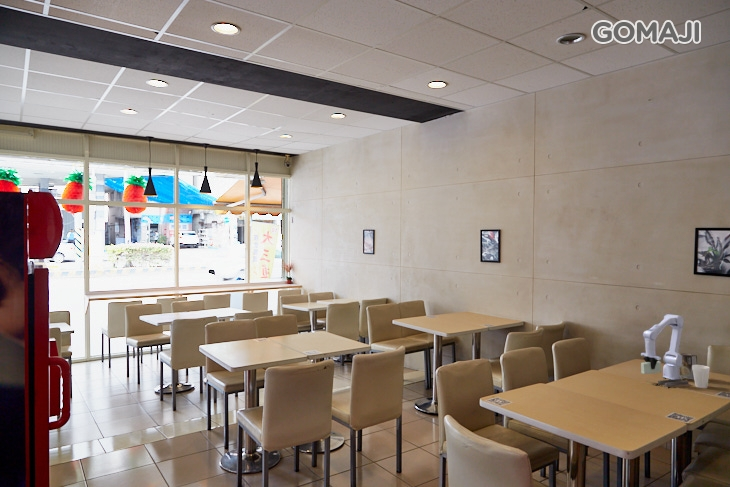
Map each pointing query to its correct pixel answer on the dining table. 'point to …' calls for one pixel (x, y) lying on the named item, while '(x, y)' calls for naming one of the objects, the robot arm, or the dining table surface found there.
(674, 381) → the bottom track
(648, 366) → the door panel
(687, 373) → the coffee box
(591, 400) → the dining table surface
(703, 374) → the foam cup
